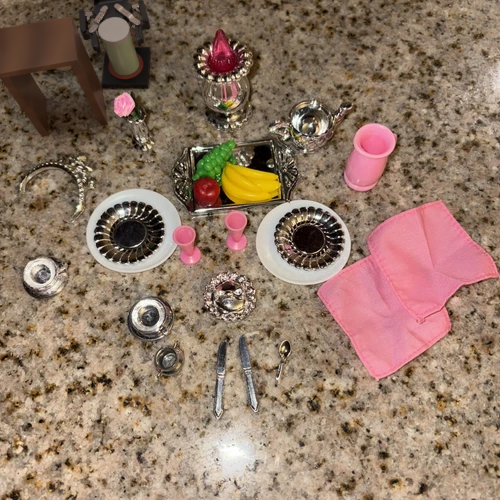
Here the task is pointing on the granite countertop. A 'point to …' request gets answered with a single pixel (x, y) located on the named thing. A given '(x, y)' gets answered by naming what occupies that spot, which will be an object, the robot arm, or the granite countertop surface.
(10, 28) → the brown wooden stool
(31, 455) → the granite countertop surface
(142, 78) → the hob
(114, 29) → the jar
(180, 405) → the granite countertop surface
